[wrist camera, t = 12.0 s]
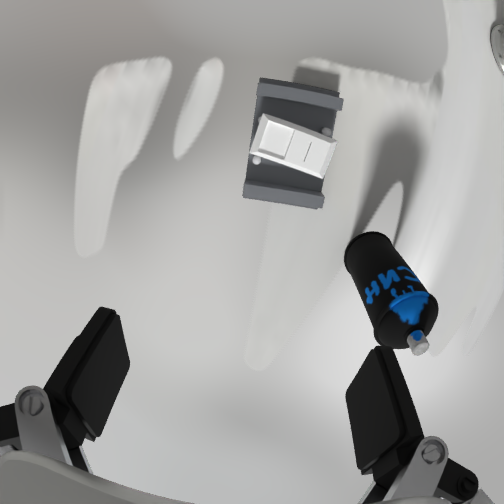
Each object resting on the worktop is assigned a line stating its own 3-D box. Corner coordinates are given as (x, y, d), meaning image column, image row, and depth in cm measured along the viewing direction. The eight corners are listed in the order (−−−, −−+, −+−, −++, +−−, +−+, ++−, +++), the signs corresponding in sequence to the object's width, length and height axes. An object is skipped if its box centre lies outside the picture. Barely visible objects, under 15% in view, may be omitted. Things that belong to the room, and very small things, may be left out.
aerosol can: (396, 267, 42) (452, 356, 24) (351, 285, 44) (387, 384, 26) (386, 223, 38) (456, 304, 21) (337, 242, 40) (379, 339, 23)
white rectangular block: (320, 175, 33) (324, 180, 31) (250, 151, 32) (248, 153, 30) (334, 139, 31) (339, 141, 29) (263, 113, 30) (262, 112, 28)
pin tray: (260, 78, 31) (259, 74, 27) (337, 93, 31) (344, 91, 28) (243, 195, 38) (241, 203, 35) (316, 207, 38) (320, 215, 35)
